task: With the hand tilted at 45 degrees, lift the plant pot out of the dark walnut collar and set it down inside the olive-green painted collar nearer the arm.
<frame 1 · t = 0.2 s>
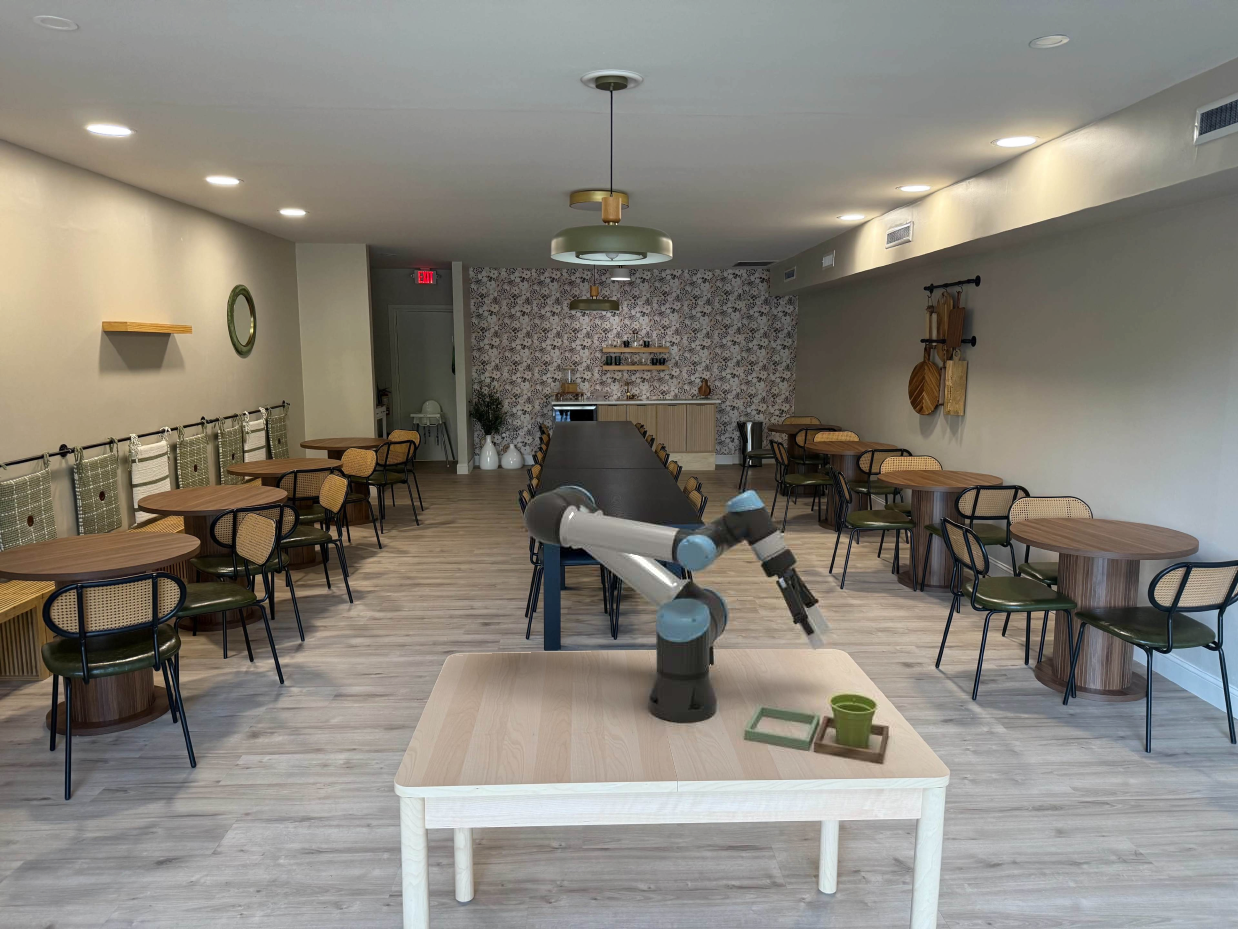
hand: (823, 639, 178), 16 cm above the table, tool tilted 35°, fingers open, 13 cm apart
walnut collar: (851, 743, 163), on the table
ammunition clip: (692, 665, 206), on the table
plant pot: (851, 744, 163), resting in walnut collar
olive collar: (782, 731, 168), on the table
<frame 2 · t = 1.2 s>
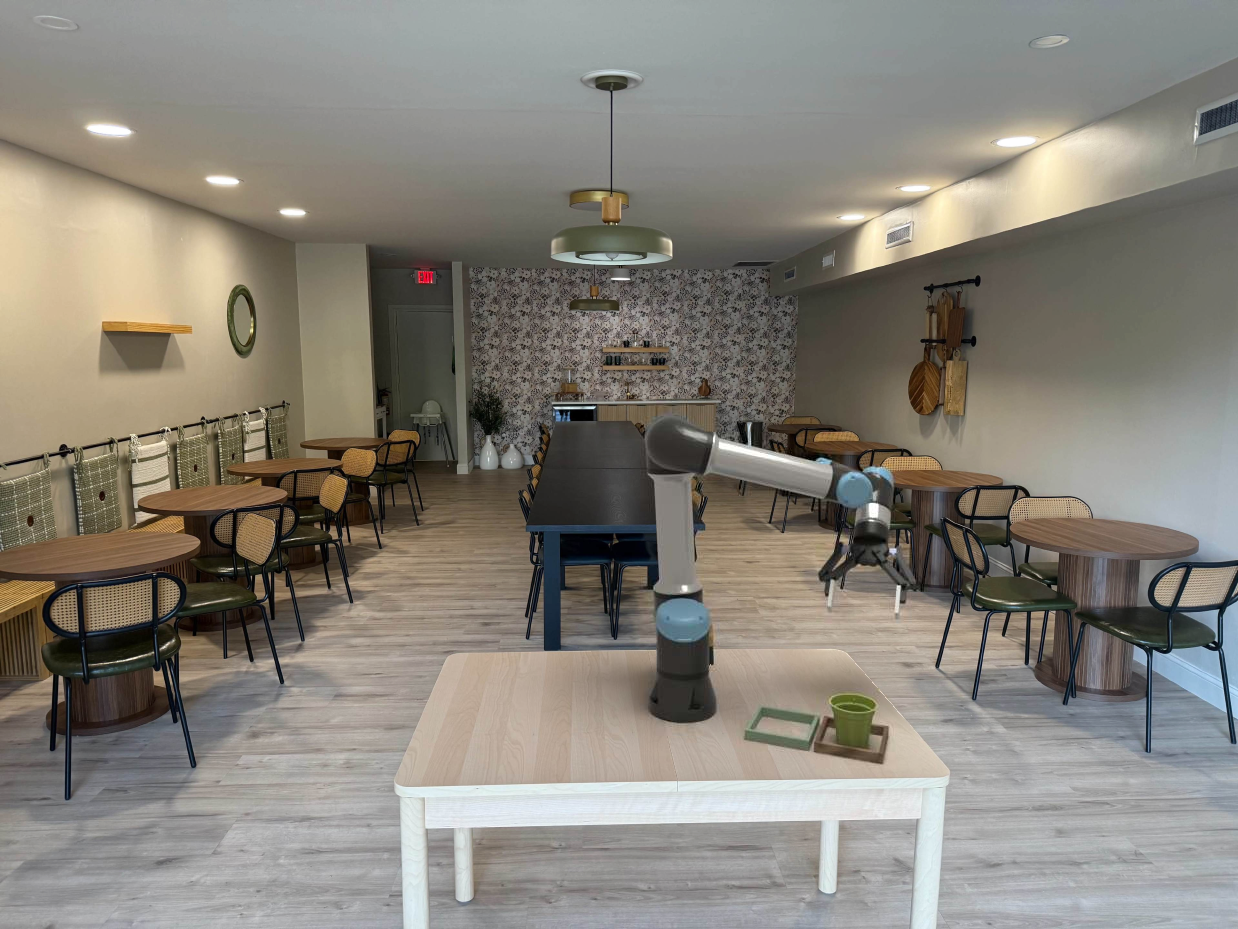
hand: (862, 612, 169), 24 cm above the table, tool tilted 45°, fingers open, 13 cm apart
nothing on the table moved.
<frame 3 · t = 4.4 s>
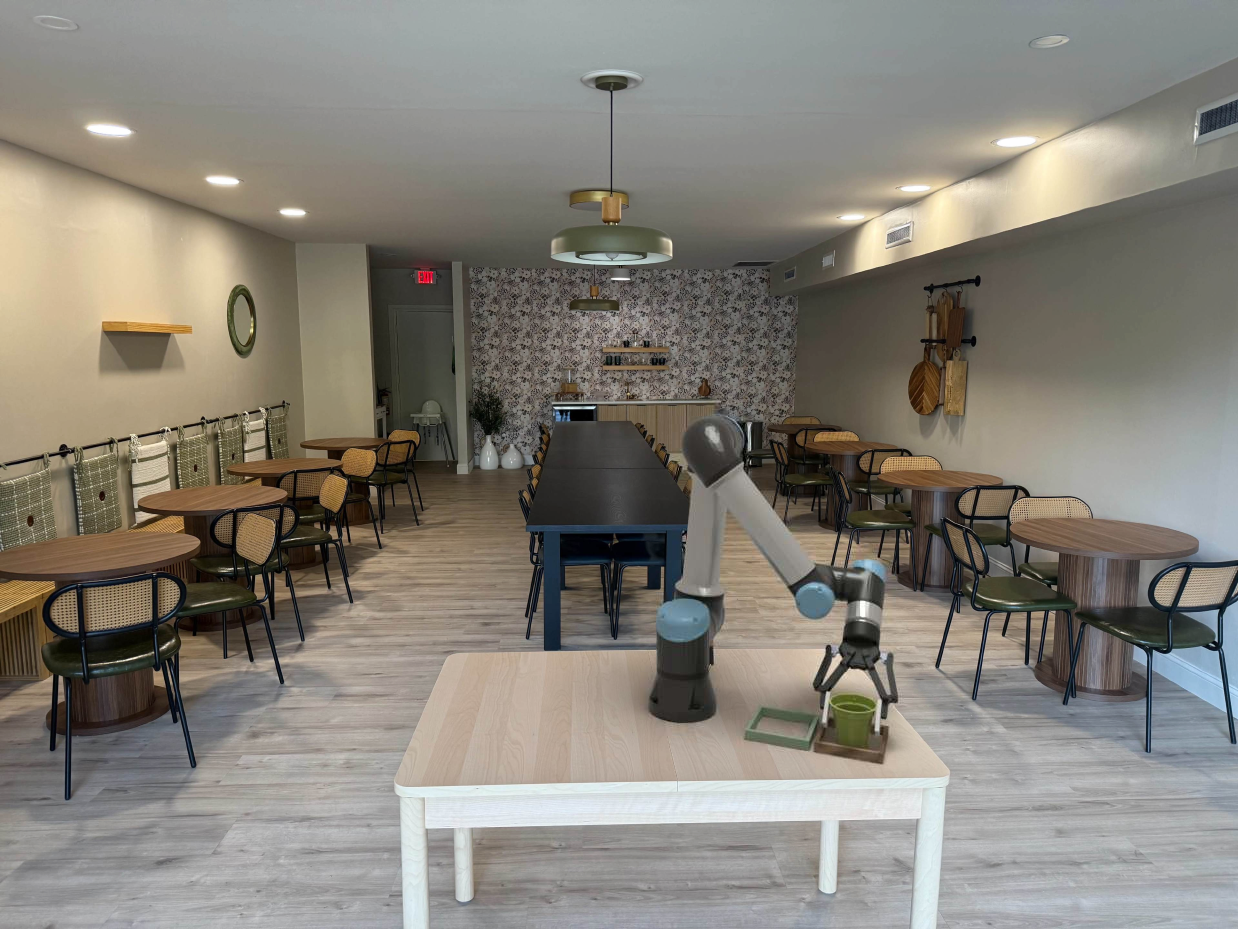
hand: (850, 729, 159), 4 cm above the table, tool tilted 45°, fingers closed on plant pot, 9 cm apart
plant pot: (851, 744, 163), resting in walnut collar, touching gripper
everything else where it was.
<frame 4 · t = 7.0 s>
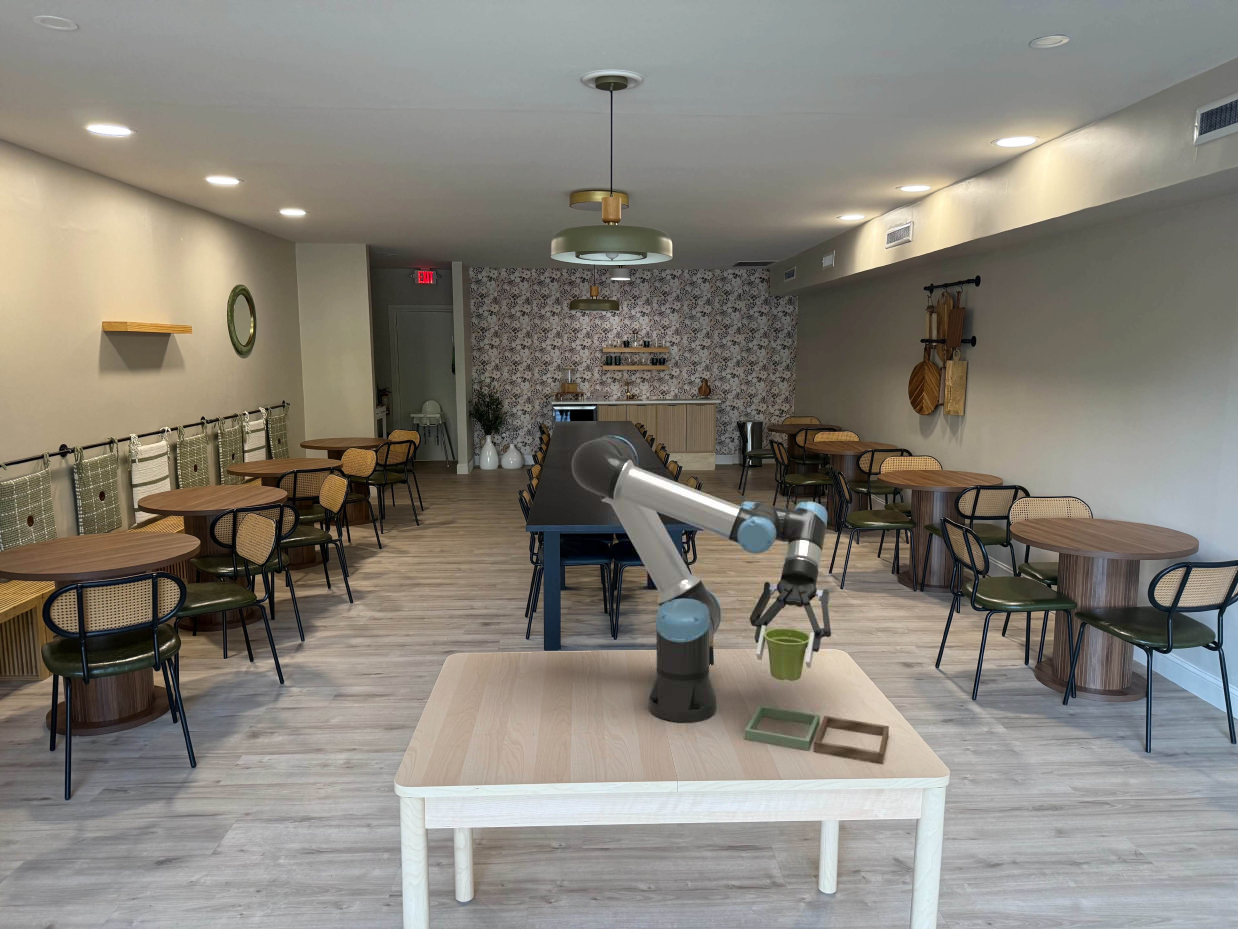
hand: (783, 660, 163), 16 cm above the table, tool tilted 45°, fingers closed on plant pot, 9 cm apart
plant pot: (785, 676, 167), point 12 cm above the table, touching gripper
everything else where it was.
when the fingers open (6 cm above the table, at t = 9.7 s): plant pot drops 1 cm, resting in olive collar.
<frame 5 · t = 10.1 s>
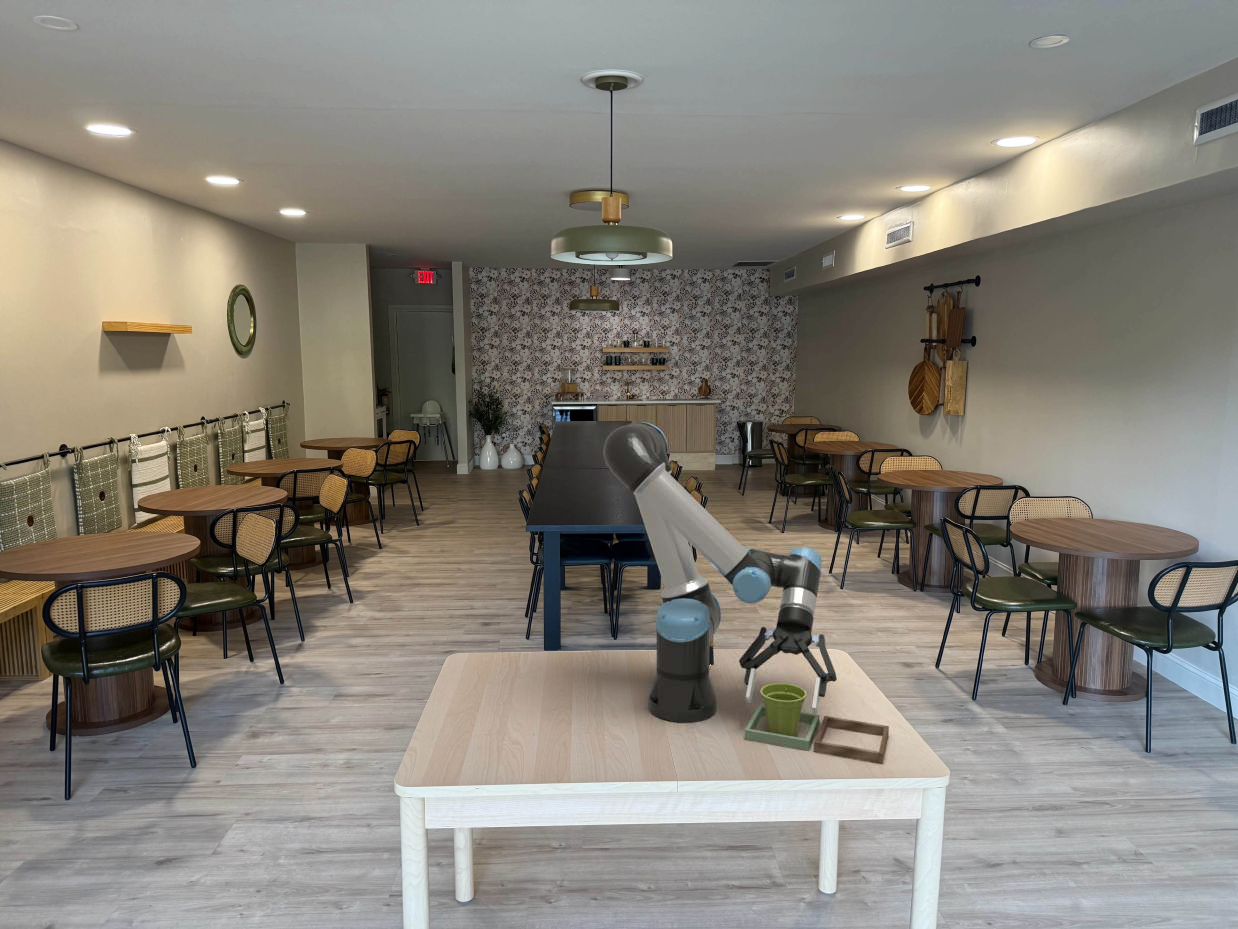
hand: (781, 705, 165), 7 cm above the table, tool tilted 45°, fingers open, 13 cm apart
plant pot: (782, 732, 168), resting in olive collar
everything else where it was.
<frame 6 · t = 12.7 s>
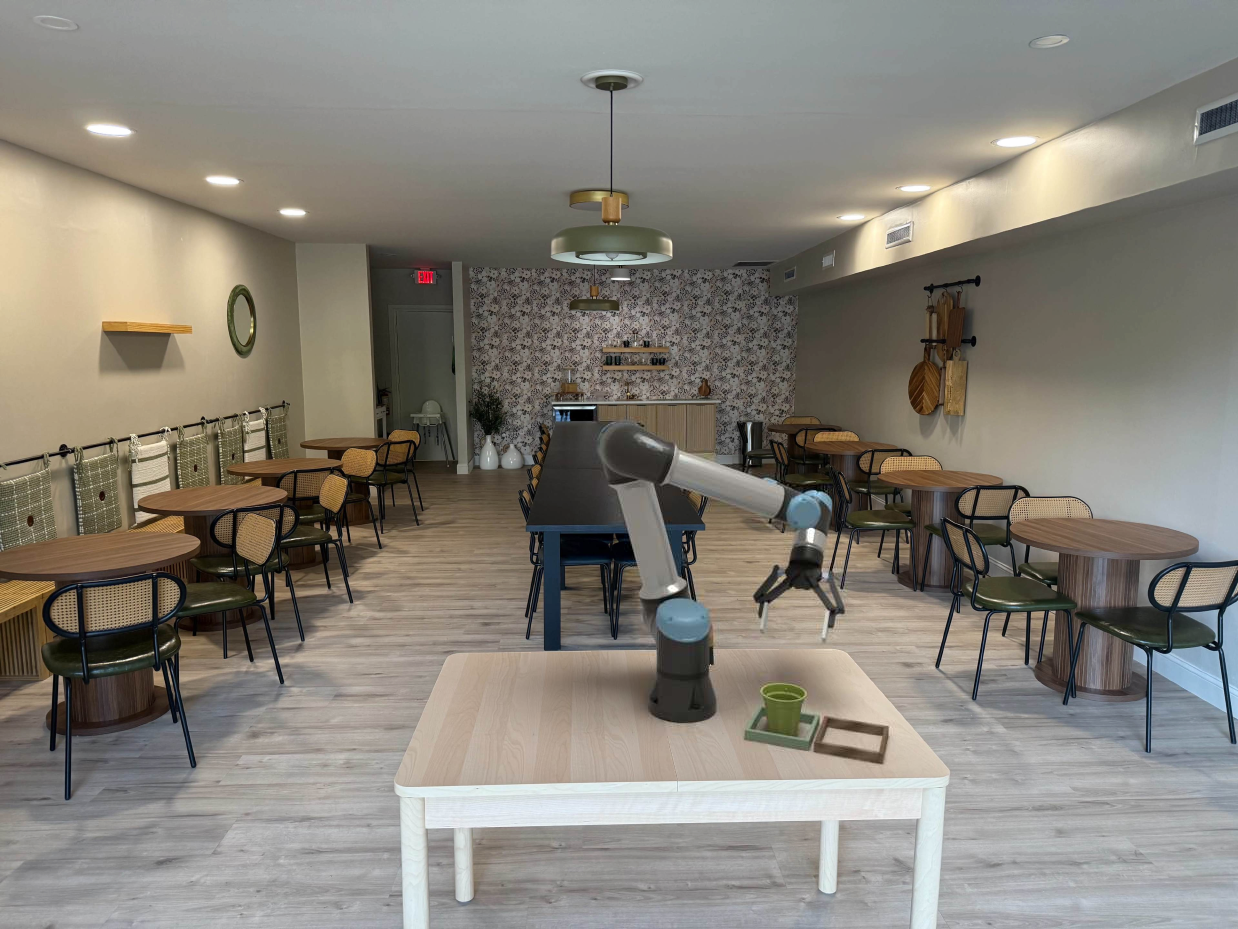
hand: (792, 636, 177), 17 cm above the table, tool tilted 45°, fingers open, 13 cm apart
nothing on the table moved.
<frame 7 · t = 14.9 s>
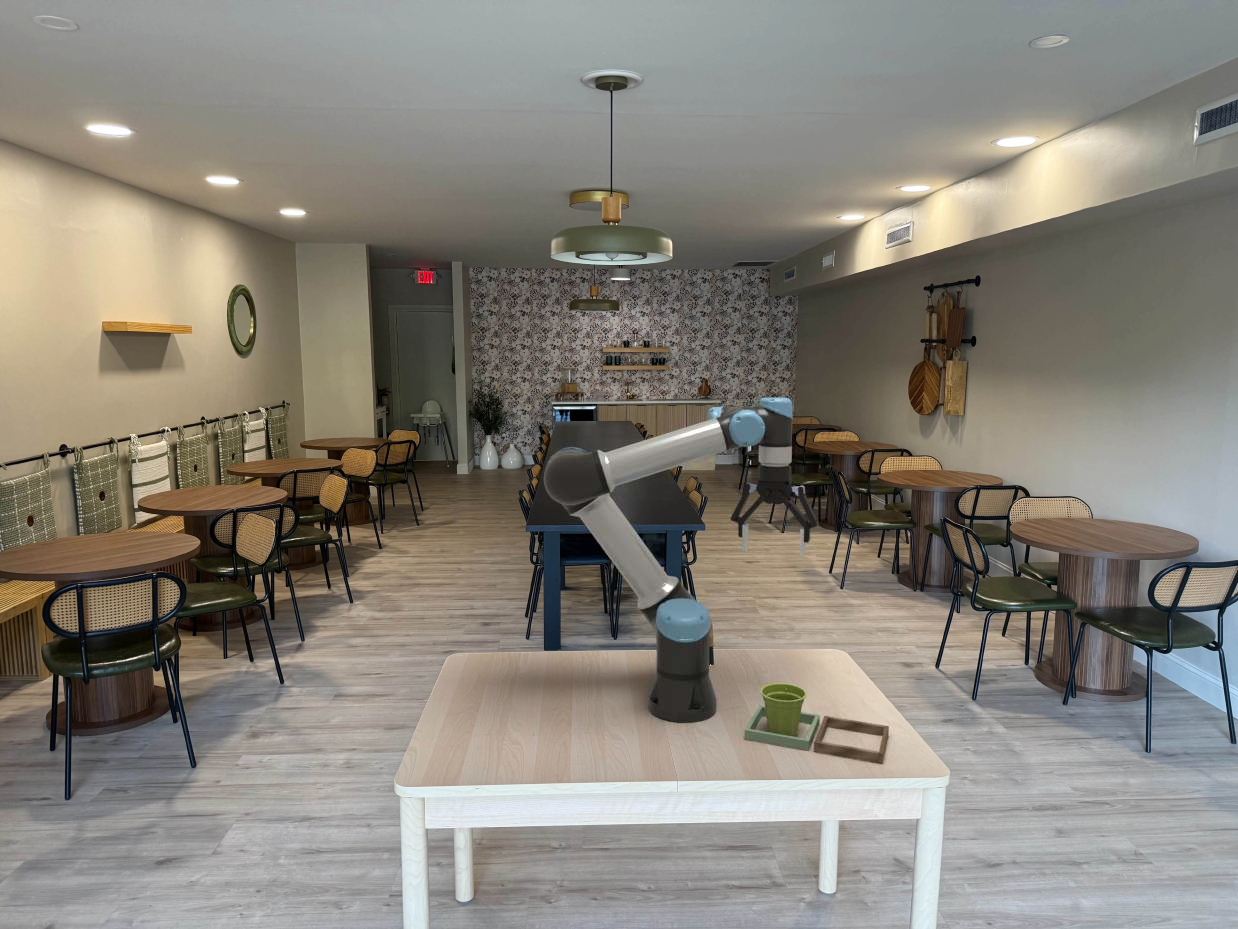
hand: (773, 553, 190), 32 cm above the table, tool pointing down, fingers open, 13 cm apart
nothing on the table moved.
at the end: plant pot 0.1 cm off-centre on the olive collar, point 0.0 cm above the olive collar's base; plant pot tilted 0°; the gripper is holding nothing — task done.
